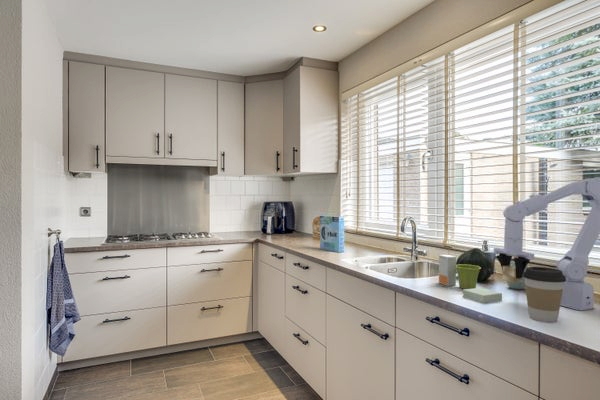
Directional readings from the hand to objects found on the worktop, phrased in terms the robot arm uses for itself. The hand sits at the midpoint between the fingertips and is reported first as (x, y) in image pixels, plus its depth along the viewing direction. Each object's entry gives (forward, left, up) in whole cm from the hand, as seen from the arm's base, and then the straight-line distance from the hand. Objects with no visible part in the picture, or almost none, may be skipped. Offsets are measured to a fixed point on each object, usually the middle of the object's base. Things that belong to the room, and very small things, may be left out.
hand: (512, 276), depth 139 cm
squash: (+31, -16, -9) cm, 36 cm away
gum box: (+131, +2, -9) cm, 131 cm away
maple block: (0, 0, -2) cm, 2 cm away
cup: (+12, -18, -9) cm, 24 cm away
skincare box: (+28, +3, -9) cm, 30 cm away
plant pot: (+20, 0, -9) cm, 22 cm away
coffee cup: (-18, +10, -9) cm, 22 cm away
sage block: (+6, +8, -9) cm, 13 cm away
